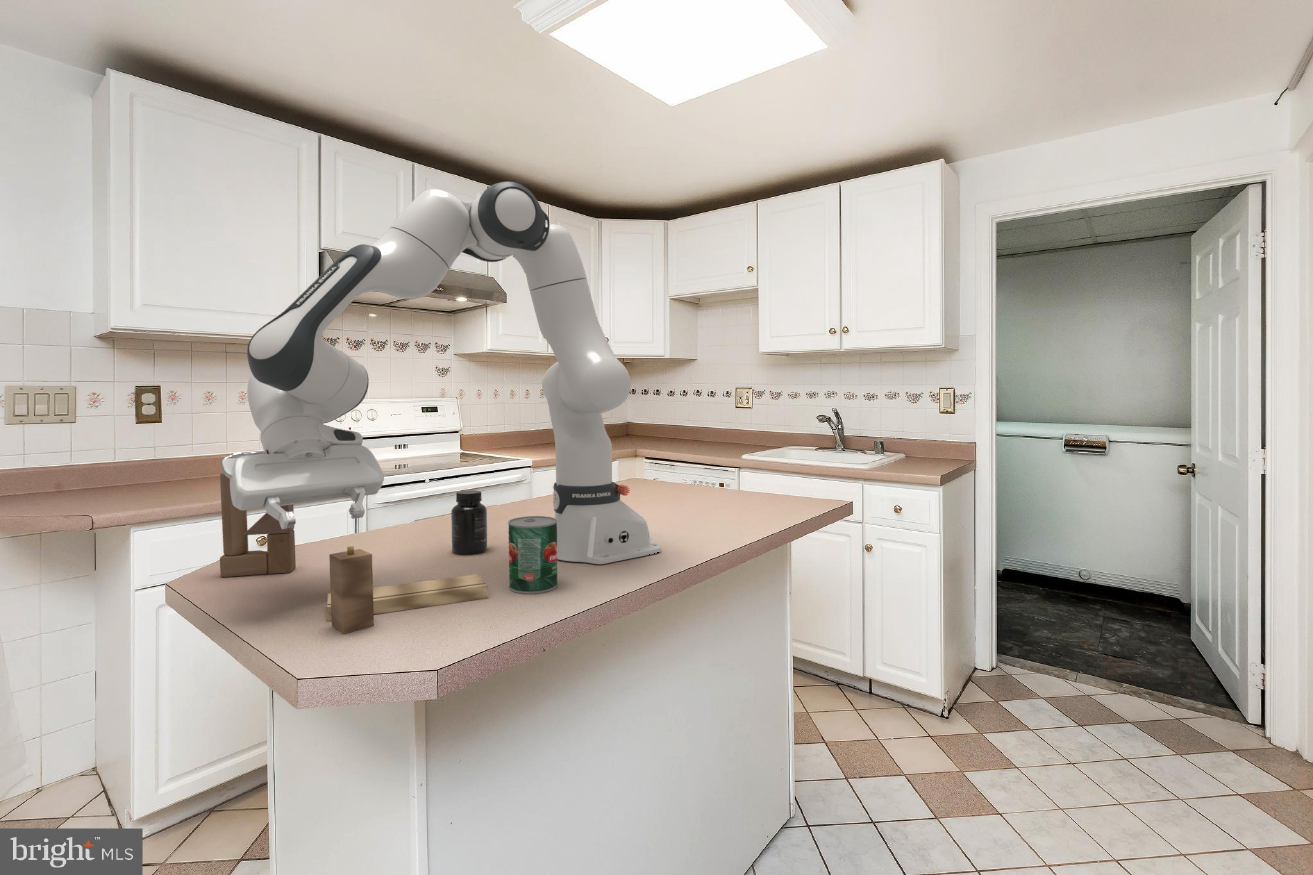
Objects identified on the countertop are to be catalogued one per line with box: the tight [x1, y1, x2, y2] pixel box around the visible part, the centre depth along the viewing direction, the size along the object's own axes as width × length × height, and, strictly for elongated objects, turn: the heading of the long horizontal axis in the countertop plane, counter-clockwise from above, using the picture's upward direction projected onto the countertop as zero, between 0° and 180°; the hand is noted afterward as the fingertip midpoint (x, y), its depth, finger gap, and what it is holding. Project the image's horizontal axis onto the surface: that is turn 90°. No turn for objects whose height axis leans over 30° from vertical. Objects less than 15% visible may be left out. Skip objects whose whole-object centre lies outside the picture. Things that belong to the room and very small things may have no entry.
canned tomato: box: [507, 515, 559, 595], centre depth 101 cm, size 8×8×11 cm
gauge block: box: [328, 545, 375, 635], centre depth 84 cm, size 4×4×11 cm
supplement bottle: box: [450, 489, 488, 556], centre depth 124 cm, size 7×7×12 cm
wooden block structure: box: [219, 471, 297, 578], centre depth 108 cm, size 4×11×18 cm, turn 107°
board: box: [326, 574, 489, 622], centre depth 94 cm, size 22×6×2 cm, turn 117°
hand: (325, 520), depth 89 cm, fingers open, 8 cm apart
